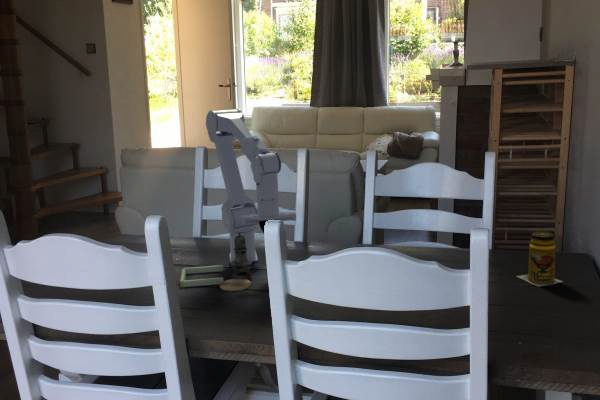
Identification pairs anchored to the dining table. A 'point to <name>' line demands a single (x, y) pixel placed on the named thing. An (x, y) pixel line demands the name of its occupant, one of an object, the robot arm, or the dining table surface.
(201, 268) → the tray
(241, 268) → the salt shaker
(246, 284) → the cork coaster
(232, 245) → the robot arm
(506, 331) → the dining table surface
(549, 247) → the condiment
